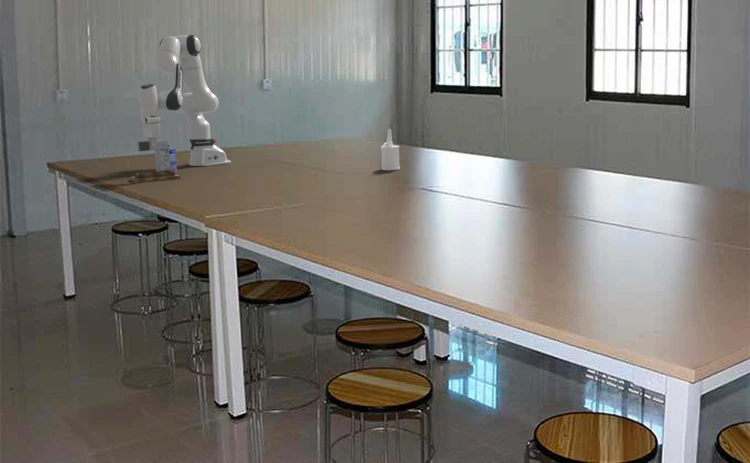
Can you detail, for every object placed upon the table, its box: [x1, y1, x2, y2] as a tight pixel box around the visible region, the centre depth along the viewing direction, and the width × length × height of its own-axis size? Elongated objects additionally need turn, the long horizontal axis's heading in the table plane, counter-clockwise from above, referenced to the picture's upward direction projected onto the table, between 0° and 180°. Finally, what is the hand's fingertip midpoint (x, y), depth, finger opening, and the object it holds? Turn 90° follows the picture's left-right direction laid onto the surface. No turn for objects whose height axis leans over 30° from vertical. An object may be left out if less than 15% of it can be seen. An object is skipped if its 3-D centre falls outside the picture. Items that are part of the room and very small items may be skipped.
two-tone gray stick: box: [136, 139, 169, 152], centre depth 445 cm, size 14×4×4 cm, turn 116°
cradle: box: [130, 170, 181, 184], centre depth 449 cm, size 22×12×4 cm, turn 116°
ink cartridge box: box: [154, 144, 178, 174], centre depth 468 cm, size 10×6×14 cm, turn 63°
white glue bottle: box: [380, 128, 401, 171], centre depth 453 cm, size 10×9×20 cm
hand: (152, 146), depth 446 cm, fingers closed on two-tone gray stick, 3 cm apart
